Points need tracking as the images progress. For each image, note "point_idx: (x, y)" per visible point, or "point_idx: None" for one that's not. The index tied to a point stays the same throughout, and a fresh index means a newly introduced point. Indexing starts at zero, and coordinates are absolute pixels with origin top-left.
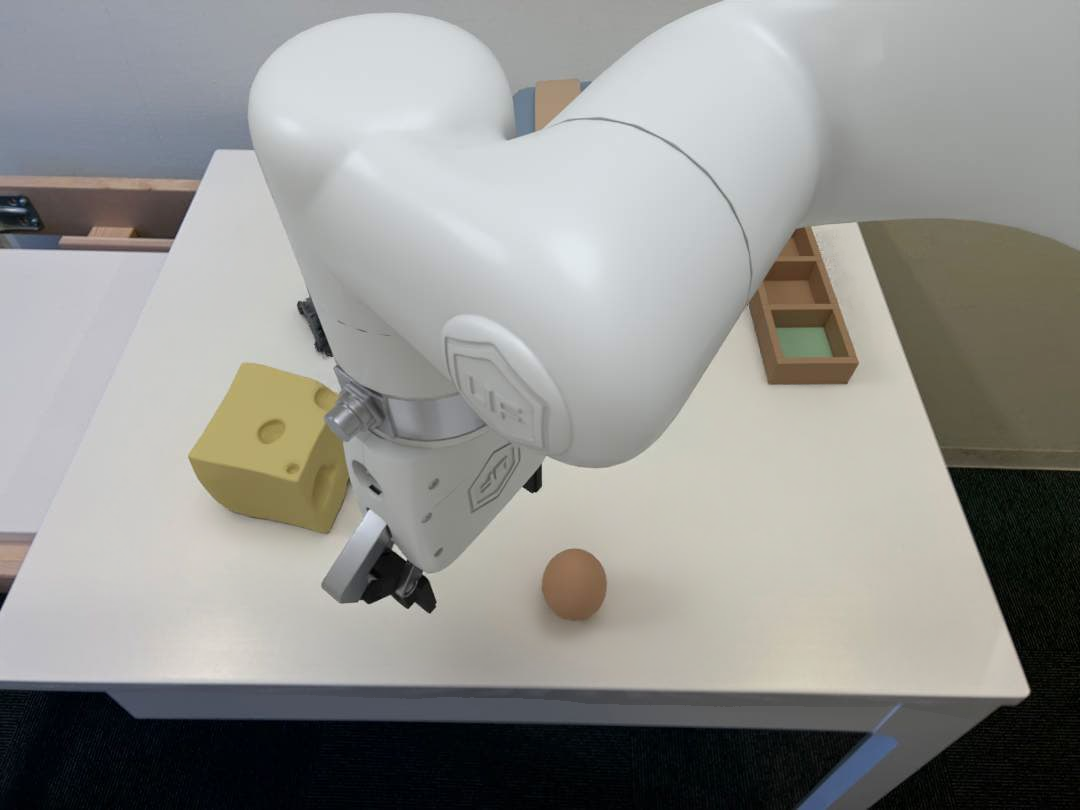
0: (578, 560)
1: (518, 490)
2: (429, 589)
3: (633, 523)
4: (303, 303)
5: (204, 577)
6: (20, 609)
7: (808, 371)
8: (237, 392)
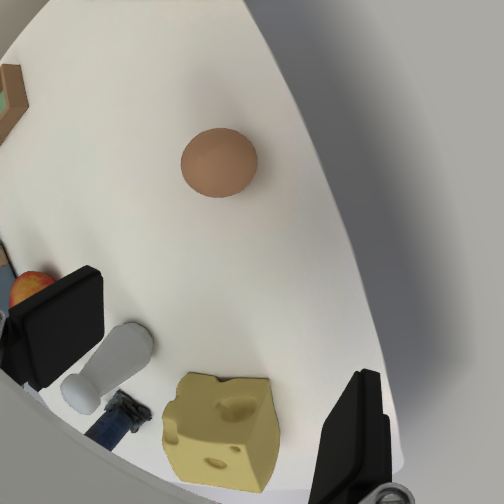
0: (191, 165)
1: (14, 396)
2: (366, 440)
3: (148, 140)
4: (131, 430)
5: None
6: None
7: (13, 87)
8: (201, 481)
